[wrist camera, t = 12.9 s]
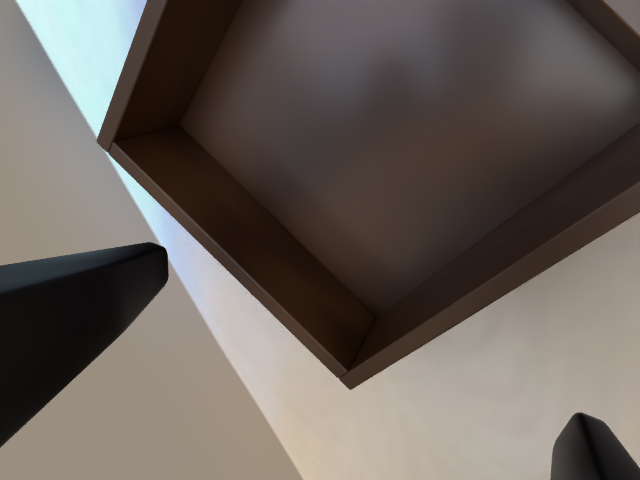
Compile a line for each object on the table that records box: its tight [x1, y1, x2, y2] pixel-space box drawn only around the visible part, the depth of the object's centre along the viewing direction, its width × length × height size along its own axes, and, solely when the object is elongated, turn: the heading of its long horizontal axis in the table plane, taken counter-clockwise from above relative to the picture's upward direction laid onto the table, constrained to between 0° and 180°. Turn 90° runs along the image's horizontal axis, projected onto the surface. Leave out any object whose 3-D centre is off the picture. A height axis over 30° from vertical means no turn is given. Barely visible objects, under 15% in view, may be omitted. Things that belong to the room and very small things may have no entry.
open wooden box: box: [97, 0, 640, 390], centre depth 16 cm, size 17×17×5 cm
